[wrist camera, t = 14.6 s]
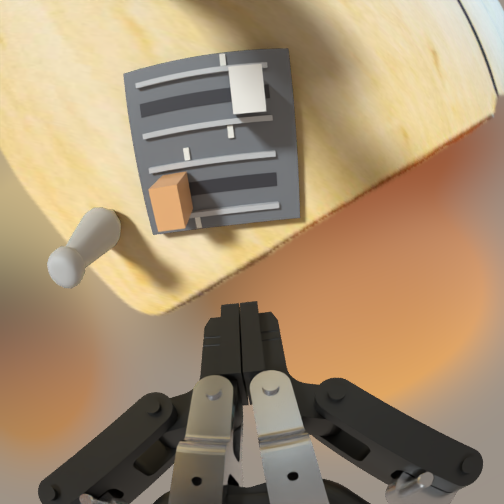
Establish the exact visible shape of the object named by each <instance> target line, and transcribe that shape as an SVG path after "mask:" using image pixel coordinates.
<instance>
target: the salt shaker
mask: <svg viewBox="0 0 504 504" xmlns="http://www.w3.org/2000/svg"><path fill="white" fill-rule="evenodd" d="M120 231H121V221H120V220H119V218H118V216H117V215H116V213H115V212H114V210H111V209H106V208H103V207H99V208H92V209H91V210H90V211H88V212H87V213H85V215H84V216H83V218H82V219H81V221H80V223H79V224H78V226H77V228H76V229H75V231H74V232H73V234H72V236H71V238H70V239H69V241H68V243H67V244H66V246H61V247H59V248H58V249H56V250H55V251H54V252H53V253H51V255H50V257H49V259H48V262H47V266H48V271H49V274H50V276H51V278H52V279H53V281H54V282H55V283H57V284H58V285H60V286H62V287H64V288H73V287H75V286H77V285H78V284H79V283H80V282H81V280H82V279H83V276H84V274H85V268H86V267H87V266H89V265H90V264H91V263H93V262H94V261H95V260H97V259H98V258H99V257H101V256H102V255H103V254H105V253H106V252H107V251H109V250H110V249H111V248H113V247H114V246H115V245H116V244H117V242H118V240H119V238H120Z"/></svg>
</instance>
